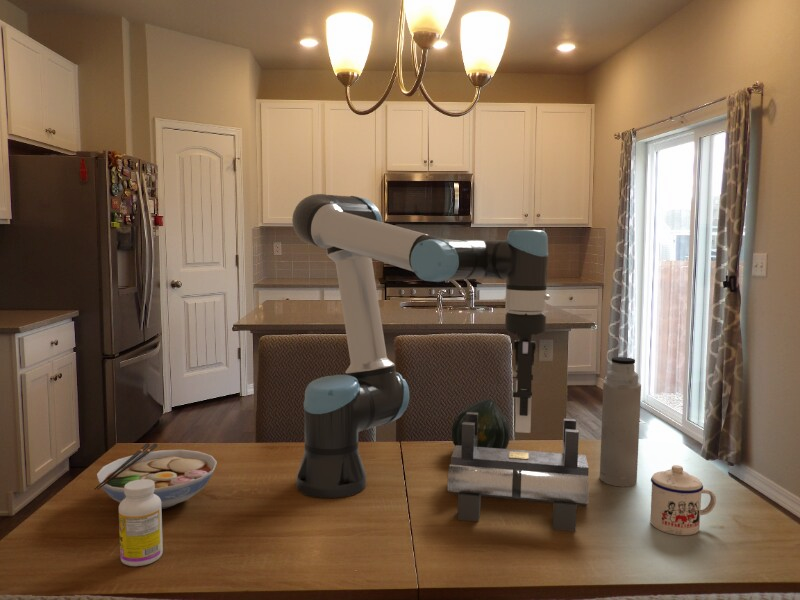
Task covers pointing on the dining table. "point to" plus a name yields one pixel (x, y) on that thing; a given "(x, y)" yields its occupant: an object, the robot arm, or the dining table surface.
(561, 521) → the posts
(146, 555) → the supplement bottle
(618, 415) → the thermos bottle
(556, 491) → the tube
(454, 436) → the squash
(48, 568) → the dining table surface
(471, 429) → the grey cradle stand
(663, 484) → the teacup with lid
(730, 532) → the dining table surface
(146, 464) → the ramen bowl
